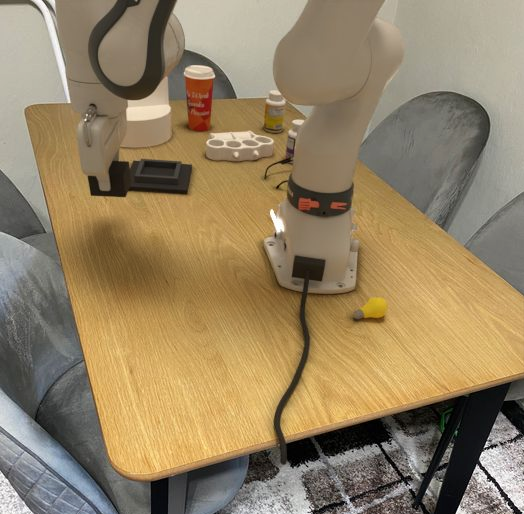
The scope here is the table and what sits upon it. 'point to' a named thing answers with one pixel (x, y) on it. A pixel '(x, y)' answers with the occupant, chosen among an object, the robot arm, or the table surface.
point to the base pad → (160, 176)
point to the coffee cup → (199, 96)
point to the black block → (113, 181)
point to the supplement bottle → (274, 112)
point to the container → (149, 119)
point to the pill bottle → (292, 138)
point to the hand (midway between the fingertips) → (110, 180)
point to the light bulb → (372, 309)
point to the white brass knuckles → (238, 146)
